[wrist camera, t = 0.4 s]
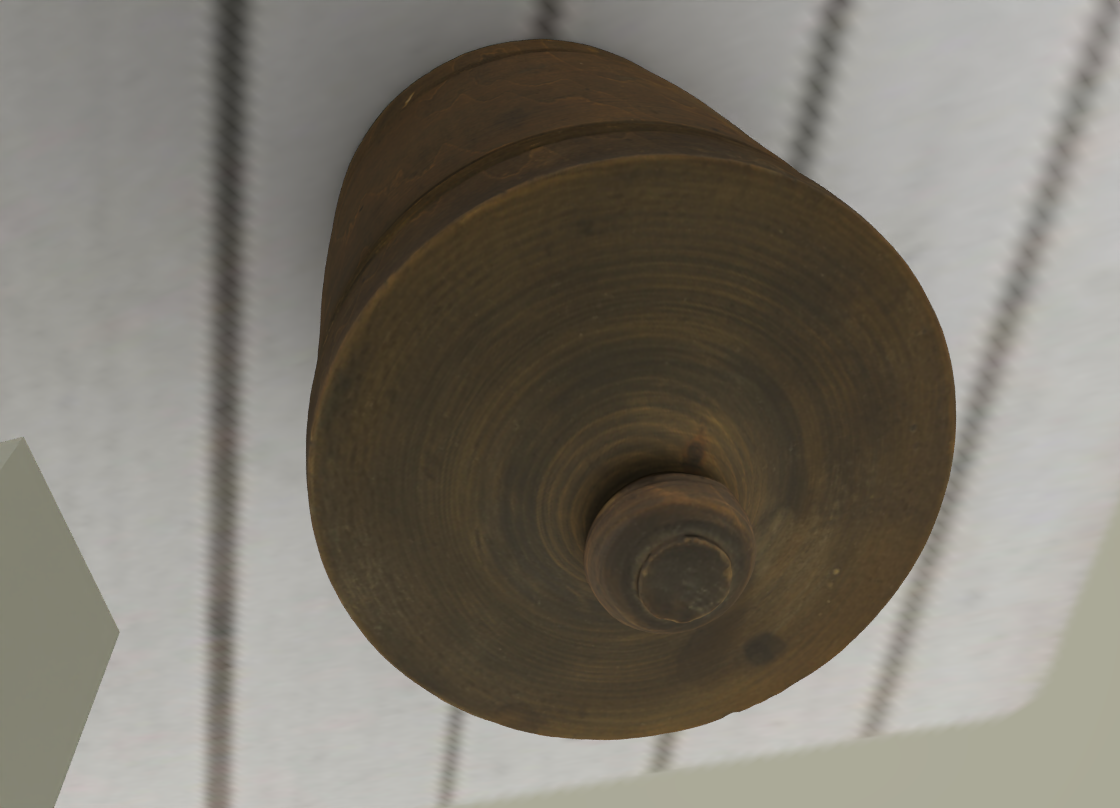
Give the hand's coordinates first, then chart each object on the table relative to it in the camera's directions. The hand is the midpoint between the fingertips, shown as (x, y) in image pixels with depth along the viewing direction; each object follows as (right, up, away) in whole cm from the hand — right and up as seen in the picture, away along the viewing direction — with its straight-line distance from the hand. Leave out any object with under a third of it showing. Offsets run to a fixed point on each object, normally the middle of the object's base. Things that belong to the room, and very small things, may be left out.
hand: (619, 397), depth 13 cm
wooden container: (-2, +6, +27) cm, 28 cm away
